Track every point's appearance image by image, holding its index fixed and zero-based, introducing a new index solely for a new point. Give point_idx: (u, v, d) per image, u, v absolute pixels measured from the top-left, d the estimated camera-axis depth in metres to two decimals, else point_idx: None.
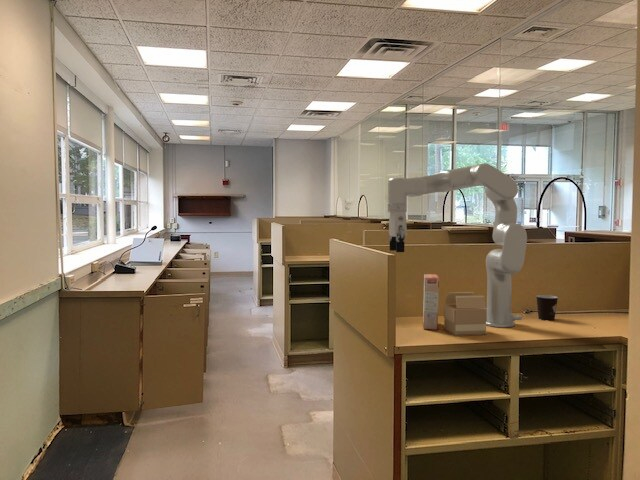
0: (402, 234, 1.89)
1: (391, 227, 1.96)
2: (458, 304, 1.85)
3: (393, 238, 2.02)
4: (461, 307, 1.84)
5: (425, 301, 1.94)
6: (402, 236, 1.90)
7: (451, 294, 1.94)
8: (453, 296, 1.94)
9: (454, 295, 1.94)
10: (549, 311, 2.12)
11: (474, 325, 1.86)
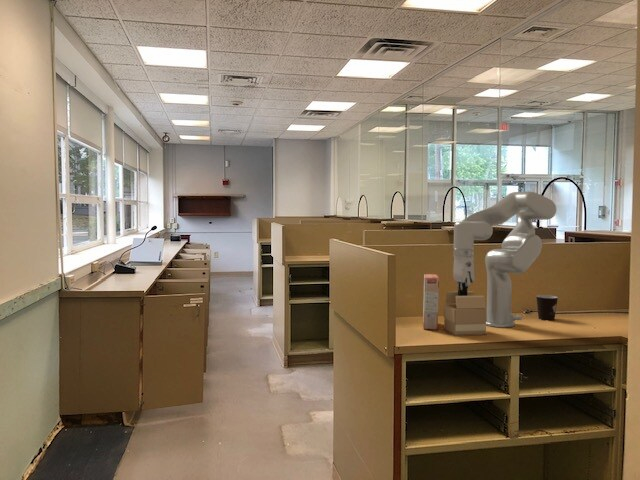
0: (467, 286, 1.88)
1: (457, 272, 1.92)
2: (458, 304, 1.85)
3: None
4: (461, 307, 1.84)
5: (425, 301, 1.94)
6: None
7: (450, 293, 1.95)
8: (452, 296, 1.95)
9: (453, 294, 1.95)
10: (549, 311, 2.12)
11: (474, 325, 1.86)
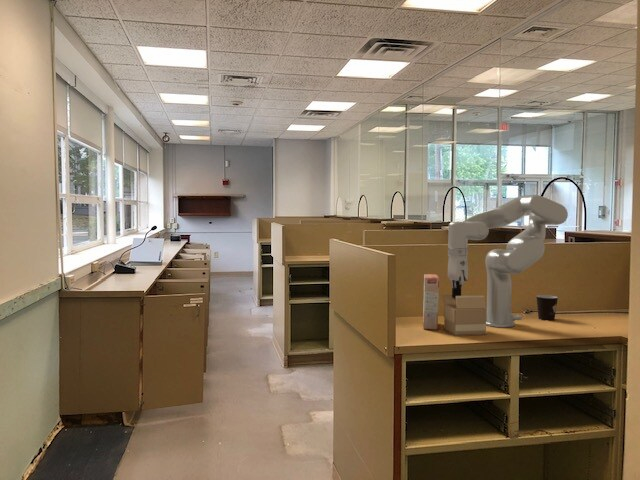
0: (460, 284, 1.94)
1: (451, 271, 1.97)
2: (458, 304, 1.85)
3: None
4: (461, 307, 1.84)
5: (425, 301, 1.94)
6: None
7: (446, 296, 1.99)
8: (449, 297, 1.98)
9: (450, 296, 1.99)
10: (549, 311, 2.12)
11: (474, 325, 1.86)
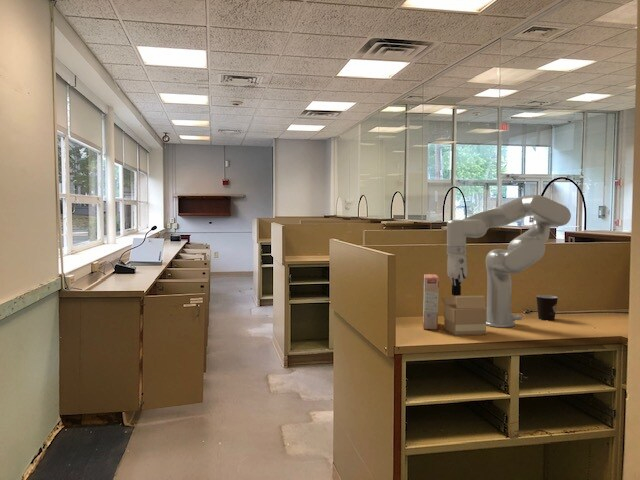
0: (460, 282, 1.96)
1: (451, 269, 1.99)
2: (458, 304, 1.85)
3: None
4: (461, 307, 1.84)
5: (425, 301, 1.94)
6: None
7: (446, 298, 1.99)
8: (448, 299, 1.99)
9: (449, 298, 1.99)
10: (549, 311, 2.12)
11: (474, 325, 1.86)
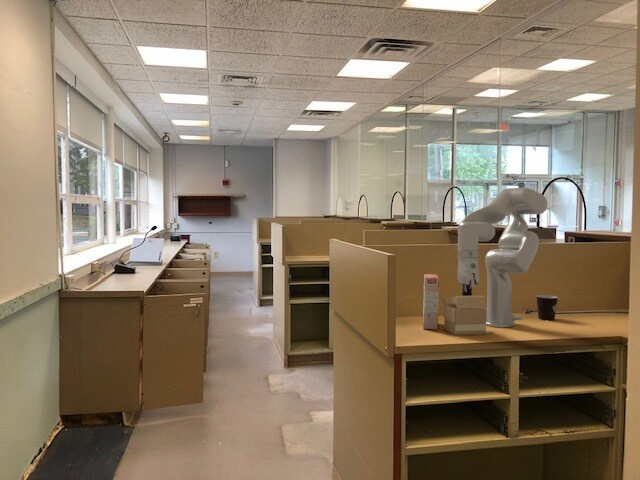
0: (471, 288, 1.84)
1: (461, 274, 1.88)
2: (458, 304, 1.84)
3: None
4: (461, 307, 1.84)
5: (425, 301, 1.94)
6: None
7: (446, 298, 1.99)
8: (448, 299, 1.99)
9: (449, 298, 1.99)
10: (549, 311, 2.12)
11: (474, 325, 1.86)
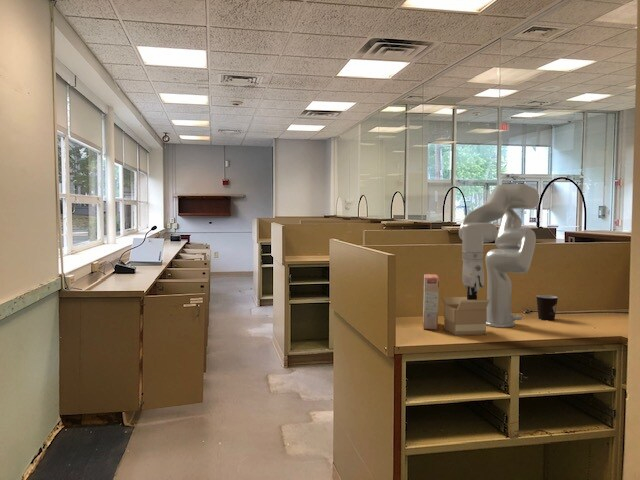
0: (476, 291, 1.80)
1: (466, 276, 1.83)
2: (460, 307, 1.83)
3: None
4: (462, 309, 1.84)
5: (425, 301, 1.94)
6: None
7: (446, 298, 1.99)
8: (448, 299, 1.99)
9: (449, 298, 1.99)
10: (549, 311, 2.12)
11: (474, 325, 1.86)
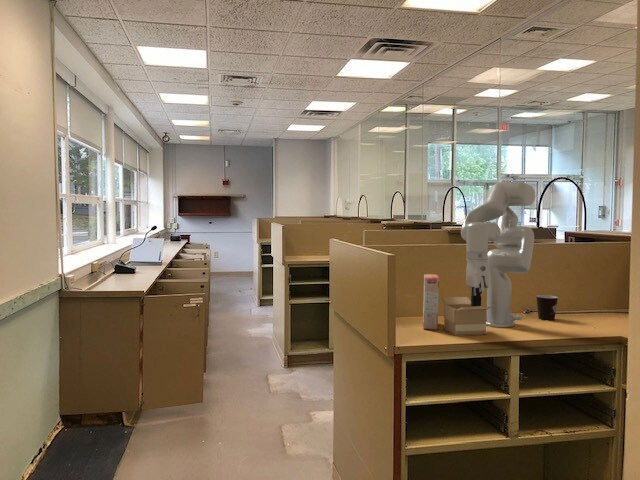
0: (481, 291, 1.77)
1: (470, 277, 1.80)
2: (460, 310, 1.83)
3: None
4: (462, 310, 1.84)
5: (425, 301, 1.94)
6: None
7: (446, 298, 1.99)
8: (448, 299, 1.99)
9: (449, 298, 1.99)
10: (549, 311, 2.12)
11: (474, 325, 1.86)
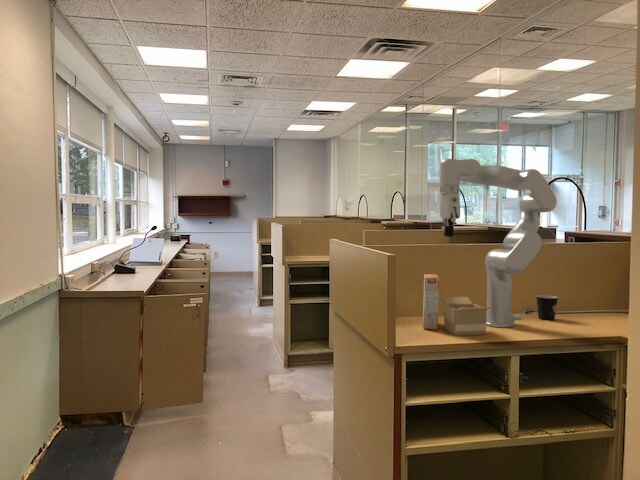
0: (452, 221, 1.92)
1: (443, 209, 1.95)
2: (460, 310, 1.83)
3: None
4: (462, 310, 1.84)
5: (425, 301, 1.94)
6: None
7: (446, 298, 1.99)
8: (448, 299, 1.99)
9: (449, 298, 1.99)
10: (549, 311, 2.12)
11: (474, 325, 1.86)
